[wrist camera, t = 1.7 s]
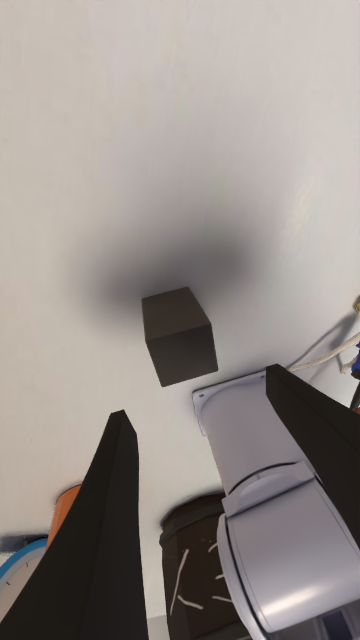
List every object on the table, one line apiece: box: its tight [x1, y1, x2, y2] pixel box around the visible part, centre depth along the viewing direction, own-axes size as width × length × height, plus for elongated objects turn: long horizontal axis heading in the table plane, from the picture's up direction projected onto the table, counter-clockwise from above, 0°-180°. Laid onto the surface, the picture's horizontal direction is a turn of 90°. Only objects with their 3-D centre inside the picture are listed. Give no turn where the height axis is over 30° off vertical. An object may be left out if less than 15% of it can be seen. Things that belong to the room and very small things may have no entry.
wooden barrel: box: [159, 493, 253, 640], centre depth 34 cm, size 18×18×16 cm
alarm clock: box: [0, 538, 48, 622], centre depth 29 cm, size 13×6×15 cm, turn 62°
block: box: [141, 287, 218, 387], centre depth 16 cm, size 4×4×6 cm
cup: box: [44, 485, 81, 554], centre depth 29 cm, size 10×10×6 cm
